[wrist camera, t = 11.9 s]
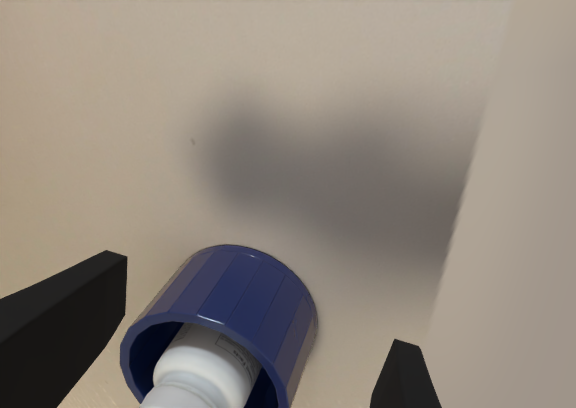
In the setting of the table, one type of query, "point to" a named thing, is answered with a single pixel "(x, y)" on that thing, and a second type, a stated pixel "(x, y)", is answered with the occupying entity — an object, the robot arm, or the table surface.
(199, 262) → the bowl
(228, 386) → the pill bottle
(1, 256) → the table surface
